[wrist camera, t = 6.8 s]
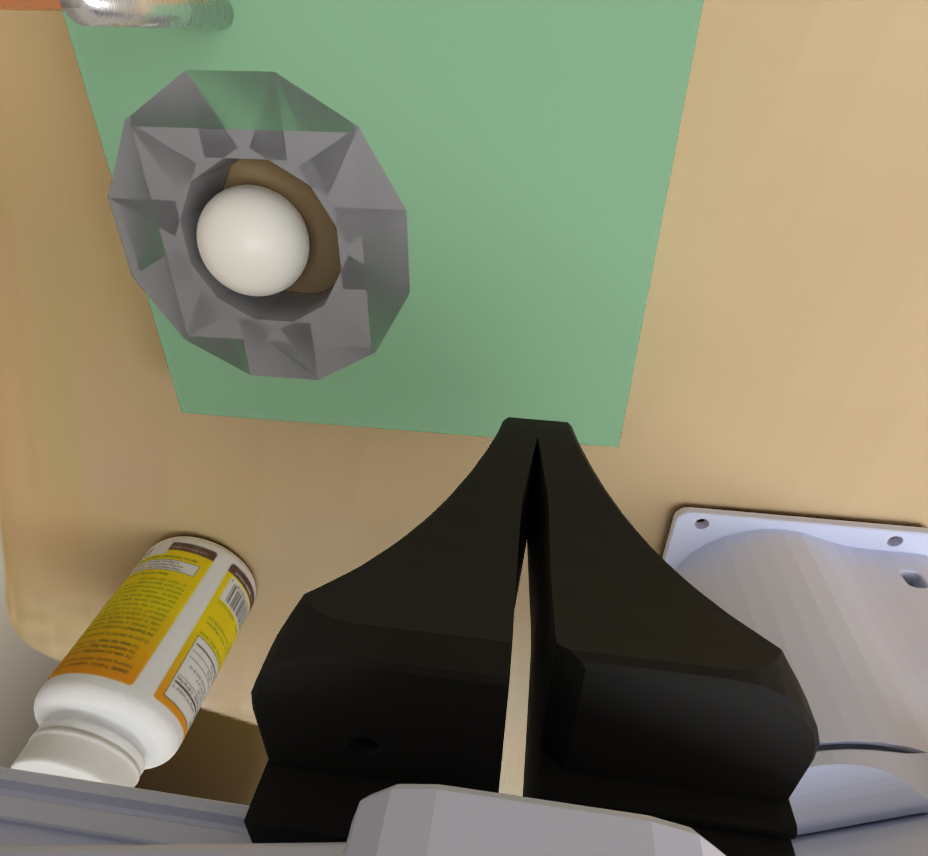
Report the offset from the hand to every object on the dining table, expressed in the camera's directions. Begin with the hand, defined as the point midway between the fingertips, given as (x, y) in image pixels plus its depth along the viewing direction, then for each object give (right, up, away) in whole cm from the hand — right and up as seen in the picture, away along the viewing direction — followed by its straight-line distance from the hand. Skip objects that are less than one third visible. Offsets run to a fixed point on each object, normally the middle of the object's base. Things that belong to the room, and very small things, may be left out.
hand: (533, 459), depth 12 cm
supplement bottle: (-14, -6, +17) cm, 23 cm away
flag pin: (-8, +11, +2) cm, 13 cm away
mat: (-4, +7, +6) cm, 10 cm away
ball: (-8, +6, +5) cm, 11 cm away
